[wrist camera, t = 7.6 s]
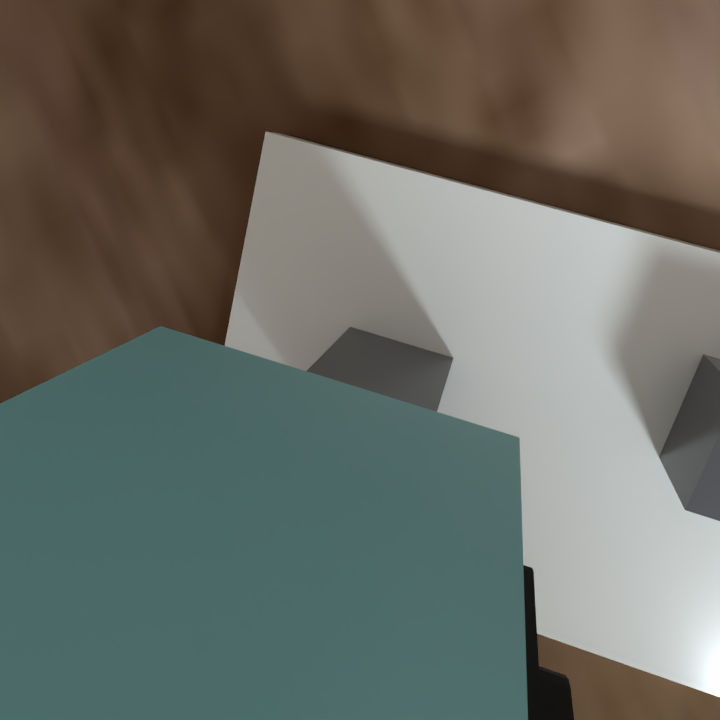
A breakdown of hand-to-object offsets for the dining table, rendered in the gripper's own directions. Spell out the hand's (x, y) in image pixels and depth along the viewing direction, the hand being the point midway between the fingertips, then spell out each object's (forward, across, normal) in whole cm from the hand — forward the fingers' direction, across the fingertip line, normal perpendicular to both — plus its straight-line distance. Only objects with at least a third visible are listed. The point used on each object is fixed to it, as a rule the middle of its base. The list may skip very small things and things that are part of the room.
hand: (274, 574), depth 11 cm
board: (+11, -4, 0) cm, 12 cm away
